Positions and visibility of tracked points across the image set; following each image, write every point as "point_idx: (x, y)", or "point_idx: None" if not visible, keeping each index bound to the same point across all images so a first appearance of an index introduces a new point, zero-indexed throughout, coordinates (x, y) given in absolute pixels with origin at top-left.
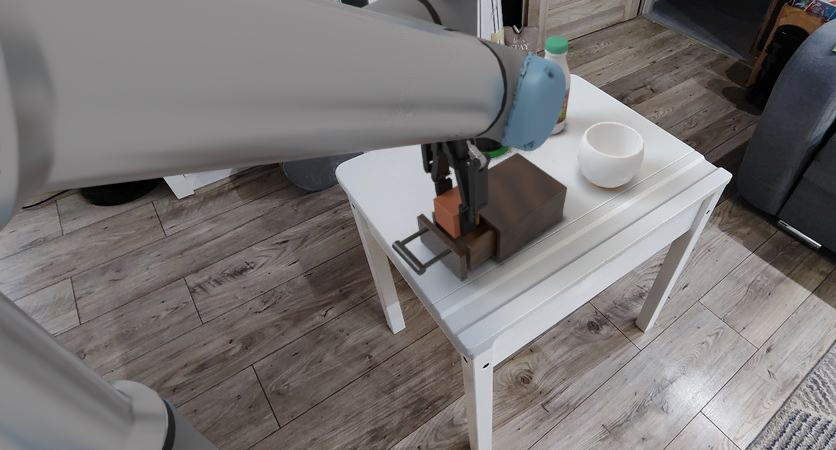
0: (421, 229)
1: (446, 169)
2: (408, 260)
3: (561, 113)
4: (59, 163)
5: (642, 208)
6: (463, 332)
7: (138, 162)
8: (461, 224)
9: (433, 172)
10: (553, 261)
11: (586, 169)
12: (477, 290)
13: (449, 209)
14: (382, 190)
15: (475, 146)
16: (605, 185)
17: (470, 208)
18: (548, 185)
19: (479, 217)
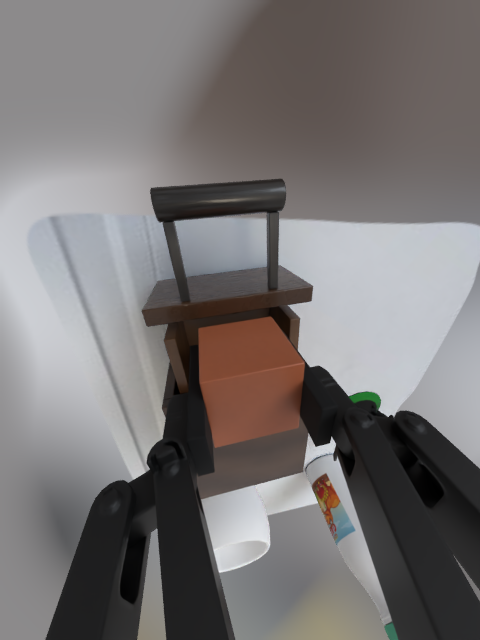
0: (276, 276)
1: (354, 494)
2: (203, 188)
3: (319, 500)
4: None
5: None
6: (48, 223)
7: None
8: (194, 371)
9: (384, 460)
10: (137, 402)
11: (228, 498)
12: (136, 294)
13: (234, 385)
14: (411, 266)
15: (360, 404)
16: None
17: (129, 491)
18: (217, 485)
19: None
